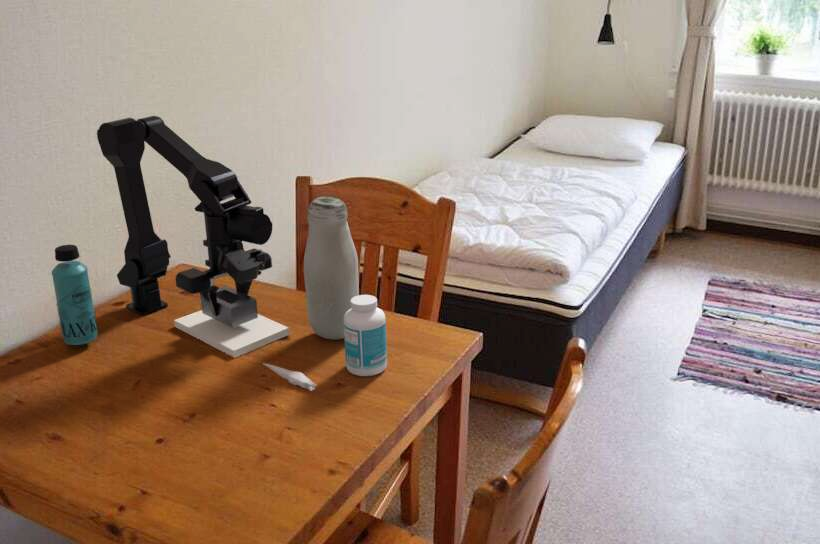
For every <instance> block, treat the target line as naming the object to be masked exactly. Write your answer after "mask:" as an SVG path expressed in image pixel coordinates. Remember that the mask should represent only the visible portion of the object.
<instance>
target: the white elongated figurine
mask: <svg viewBox="0 0 820 544" xmlns="http://www.w3.org/2000/svg"><path fill="white" fill-rule="evenodd" d="M262 365H263V366H266V367H267V368H269V369H270V370H271V371H272V372H274V373H276V374H277V375H278V376H280V377H281V378H283V379H285V380H287V381H288V383H289V384H291V385H293V386H299V387H301V388H303V389H308V390H309V391H310V392H312V391H313V390H316V388H315V387H317V386H318V384H317V383H315V382H313V381H312V380H311V379H310V378H308V377H307V376H306V375H305V374H304V373H302V372H301V371H296V370H295V371H293V370H289V369H286V368H283V367H280V366H278V365H277V366H276V365H273V364H269V363H262Z"/></svg>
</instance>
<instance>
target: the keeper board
mask: <svg viewBox="0 0 820 544" xmlns="http://www.w3.org/2000/svg"><path fill="white" fill-rule="evenodd" d="M173 321H174V327H175V328H176V329H179V330H180V331H182V332H184V333H186V334H188V335H190V336H192V337H194V338H195V337H196V339H198V340H199V339H200V341H201V340H202V341H201V342H204V343H205V344H207V345H209V346H210V347H213V348H215V349H217V350H219V351H221V352H223V353H224V352H225V354H226V355H228V356H230V357H233V358H234V359H235V358H238V357H241V356H244V355H245V354H247V353H249V352H252V351H255V350H257V349H259V348H261V347H264V346H266V345H269V344H271V343H273V342H276V341H277V340H280V339H282V338H285V337H287V336H289V335H290V328H289V326H286V325H284V324H281V323H279V322H276V321H275V320H272V319H270V318H267V317H266V316H263V315H262V314H259V313H258V318H256V319H253V320H251V321H248V322H246V323H243V324H241V325H238V326H235V327H233V328H232V327H230V326H228V325H226V324H224V323H222V322H220V321H218V320H216V319H214V318H212V317H209V316H207V315H205V314H203V313H202V309H201V310H198V311H195V312H192V313H190V314H187V315H184V316H182V317H179V318H176V319H174V320H173ZM240 355H241V356H240Z"/></svg>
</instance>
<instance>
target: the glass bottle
mask: <svg viewBox="0 0 820 544" xmlns="http://www.w3.org/2000/svg"><path fill="white" fill-rule="evenodd" d="M306 218H307V222H308V233H307V234H308V235H307V239H306V245H305V249H304V256H303V278H304V287H305V288H304V289H305V297H306V313H307V318H308V323H309V326H310V328H311V330H312V331H313V332H314V333H315V334H316V335H317V336H319V337H322V338H323V339H325V340H332V341H333V340H337V341H338V340H342V339H344V315H345V313H346V312H347V311H348V310H349V309H351V303H350V301H351V299H352V298H353V297H355V296H358V295H360V288H359V286H360V283H359V258H358V253H357V249H356V247H355V243H354V240H353V238H352V235H351V231H350V227H349V223H348V209H347V205H346V203H345V202H344V201H343V200H341V199H339V198H337V197H334V196H319V197H317V198H314V199H313V200H312V201H311V202H310V204H309V206H308V210H307V217H306Z"/></svg>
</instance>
